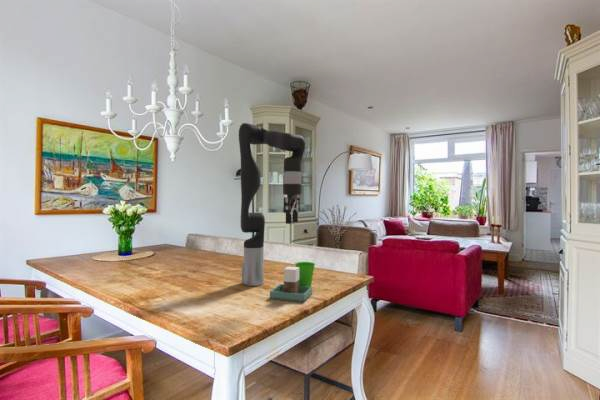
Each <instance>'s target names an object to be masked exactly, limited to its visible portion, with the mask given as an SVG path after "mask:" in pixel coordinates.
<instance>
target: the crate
mask: <svg viewBox="0 0 600 400" xmlns="http://www.w3.org/2000/svg"><path fill="white" fill-rule="evenodd" d="M312 295H313V287H312V286H311V287H307V286H299V294H297V293H287V292H284V283H283V284H282V283H280V284H278V285H277V286H275V287H273V289H271V290H269V299H270V300H276V301H278V300H279V301H287V302H297V303H305V302H307V300H309V298H310V297H311V296H312Z"/></svg>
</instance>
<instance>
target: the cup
mask: <svg viewBox="0 0 600 400" xmlns="http://www.w3.org/2000/svg"><path fill="white" fill-rule="evenodd" d="M294 265H295V267H299V286H307V287H312V281H313V276H314V270H315V266H316V264H315V263H314V262H311V261H297V262H295V263H294Z"/></svg>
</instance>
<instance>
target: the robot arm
mask: <svg viewBox="0 0 600 400" xmlns="http://www.w3.org/2000/svg"><path fill="white" fill-rule="evenodd" d="M305 140H306V139H305V138H304V137H303V136H302V135H300V134H294V133H290V132H289V133H288V132H282V131H277V130H267V129H265V128H263V127H261V126H260V125H256V124H252V123H247V122H243V123H241V125H240V126H239V129H238V144H239V154H240V194H241V199H240V200H241V202H240V203H241V206H240V229H241V232H242V233H249V234H250V233H255V234H254V236H252V237H250V238H248V239H246V240H244V242H243V263H242V264H241V285H245V286H248V287H255V286H262V285H263V284H264V262H265V261H264V257H265V256H264V254H265V253H264V249H265V248H264V246H265V245H264V243H265V229H266V228H265V227H266V226H265V224H266V221H265V220H266V219H265V214H264V213H262V212H249V211H250V206H251V203H252V200H253V199H254V197H255V196H256V194H257V192H258V191H259V190H260V187H261V182H262V181H261V169H260V166H259V165H258V162H257V161H256V159H255V157H254V155H253V153H252V148H251V145H253V146H255V145H256V146H257V145H267V146H269V147H272V148H275V149H279V150H282V151H285V152H292V153H291V156H289V157H286V158H284V160H283V177H282V194H283V195H285V196H286V197H283V208H282V209H283V213H284V214H285V224H287V225H288V224H289V225H291V224H292V222H293V223H298V222H299V213H300V211H301V198H300V197H298V196H301V195H302V159H303V156H304V154H305V148H306V141H305Z"/></svg>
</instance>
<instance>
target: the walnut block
mask: <svg viewBox="0 0 600 400" xmlns="http://www.w3.org/2000/svg"><path fill="white" fill-rule="evenodd" d="M283 284H284V292H287V293H297V294H299V280H298V281H297V282H285V281H284V280H283Z"/></svg>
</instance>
